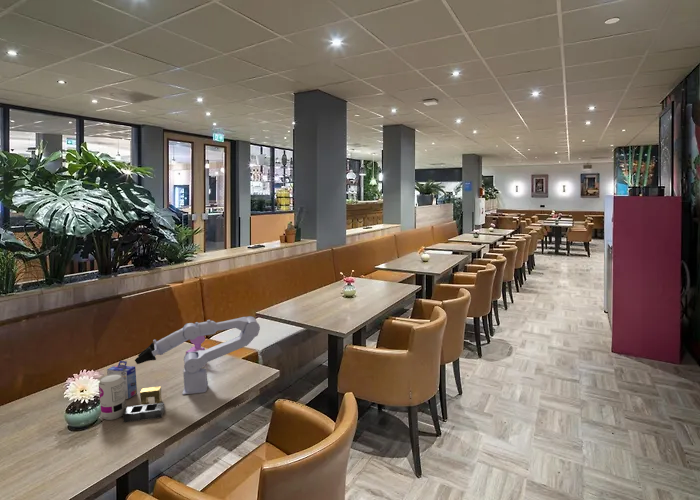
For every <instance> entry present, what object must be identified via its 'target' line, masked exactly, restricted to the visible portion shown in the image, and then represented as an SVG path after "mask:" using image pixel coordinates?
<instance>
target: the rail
mask: <svg viewBox="0 0 700 500" xmlns="http://www.w3.org/2000/svg"><path fill="white" fill-rule="evenodd" d="M164 412H165V402H163V401H162V402H161V403H155V402H154V403H147V404H145V405H141V404H138V405H130V406H129V405H128V406H126V410H125V412H124V414H123V415H122V419H123V423H127V422H128V423H130V422H138V421H144V420H152V419H153V420H155V419H161V418H163V414H164Z"/></svg>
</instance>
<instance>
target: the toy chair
mask: <svg viewBox="0 0 700 500" xmlns="http://www.w3.org/2000/svg"><path fill="white" fill-rule="evenodd" d="M205 340H206V337H205V336H201V334H200V336H198V337H197V338H196V339H194V340H189V341H190V343H191V344H193V345H194V346H192V347H191V348H189V349H187V350H186V351H185V355H186V354H187V353H188V352H196V351H199V350H206V349H205V347H202V344H203V343H204V342H205Z"/></svg>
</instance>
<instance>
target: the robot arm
mask: <svg viewBox="0 0 700 500" xmlns="http://www.w3.org/2000/svg"><path fill="white" fill-rule="evenodd" d="M233 329H237V330H239V331H240V333H239V336H237V337H236V336H235V337H233V338H231V339H229V340H227V341H224V342H221V343H219V344H216V345H214V346H212V347H211V346H210V347H209V348H206V349H205V350H199V351H196V352H188V353H187V354H186V353H185V355H184V357H183V361H184V362H183V363H184V365H183V368H184V369H183V370H182V372H183V373H182V374H183V391H182V392H181V393H182V395H183V396H184V395H192V394H201V393H203V394H204V393H206V392H207V390H208V385H209V381H208V372H207V371H208V370H207V368H203V367H205V366H206V365H207V364H208V363H209V362H211V361H214V360H216V359H219V358H221V357H223V356H225V355H226V356H227V355H228V354H230V353H233V352H234V351H237V350H240V349H243V348H245V347H247V346H249V344H251V342H252V341H254V339H255V337H258V336H259V333H260V329H261V326H260V324H259V323H258V322H257V319H256V318H255V317H254V316H251V315H249V316H242V317H241V316H240V317H238V318H233V319H228V320H224V321H217V322H216V321H214V320H211V319H207V320H206V321H203V322H202V321H201V322H198V321H196V322H194V323H193V322H189V323H187V322H186V323H185V324H184V326H183V327H182V328H180V329H177V330H176V331H173V332H172V333H170V334H168V335H167V336H164V337H162V338H160V339H159V340H157V339H153V340H152V341H153V342H151V343H150V345H148V347H146V348H145V349H144V350H142V351H141V352H140V353H139V354H138V355H137V357H136V358H135V359H134V361H135V363H136V365H140V364H143V363H146V362H150V361H156V360H157V357H156V356H157V355H158V356H162V355H164V354H165V353H167V352H169V351H170V350H172V349H174V348H176V347H178V346H180V345H182V344H183V343H185V342H187V341H190V340H194V339H196V338H197V337H198V336H200V334H201V336H204V337H205V336H210V335H215V334H216V332H217V331H224V330H233Z"/></svg>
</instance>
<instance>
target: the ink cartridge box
mask: <svg viewBox="0 0 700 500" xmlns="http://www.w3.org/2000/svg"><path fill="white" fill-rule="evenodd" d="M106 373H107V375H111V374H120V375H121V376H122V377H123V379H124V390H125V400H129V399H131V398H132V397H134V396H136V395H137V394H138V388H137V371H136V366H135V365H134V366H131V365H128V361H124V360H119V362H118V364H115V365H113V366H111V367H110V368H107V369H106ZM107 375H106V376H107Z"/></svg>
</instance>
